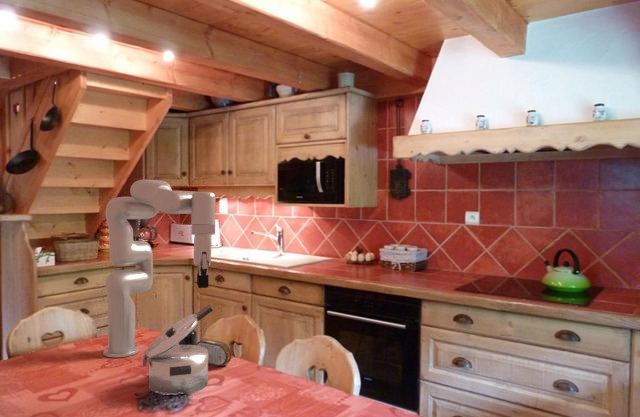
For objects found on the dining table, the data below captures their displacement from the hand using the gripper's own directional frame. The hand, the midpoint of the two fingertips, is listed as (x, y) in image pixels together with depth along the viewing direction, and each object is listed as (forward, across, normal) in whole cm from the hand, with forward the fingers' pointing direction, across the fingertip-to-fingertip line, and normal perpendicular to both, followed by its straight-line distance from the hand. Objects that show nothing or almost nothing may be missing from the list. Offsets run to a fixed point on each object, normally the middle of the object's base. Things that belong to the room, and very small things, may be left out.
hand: (202, 285), depth 151 cm
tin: (+32, -16, +5) cm, 36 cm away
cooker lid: (+15, 0, -7) cm, 16 cm away
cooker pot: (+31, 0, -7) cm, 32 cm away
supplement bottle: (+31, -28, -3) cm, 42 cm away
